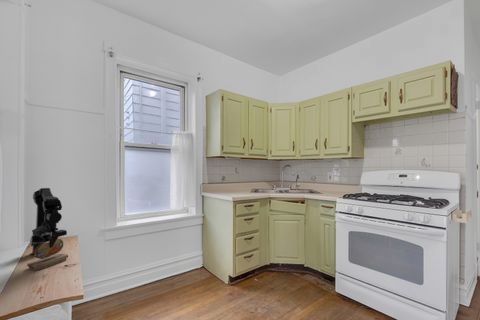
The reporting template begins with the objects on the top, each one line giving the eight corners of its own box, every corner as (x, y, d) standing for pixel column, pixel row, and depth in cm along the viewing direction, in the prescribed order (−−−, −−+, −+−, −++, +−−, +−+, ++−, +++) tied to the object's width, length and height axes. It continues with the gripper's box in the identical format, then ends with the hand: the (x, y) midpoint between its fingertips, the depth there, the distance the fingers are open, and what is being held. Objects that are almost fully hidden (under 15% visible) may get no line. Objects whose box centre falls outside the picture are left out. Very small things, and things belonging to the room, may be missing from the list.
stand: (26, 269, 131) (27, 263, 131) (57, 258, 148) (58, 253, 148) (37, 270, 129) (38, 265, 129) (67, 259, 146) (68, 254, 146)
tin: (36, 261, 132) (37, 246, 131) (32, 260, 132) (33, 245, 132) (63, 250, 146) (64, 237, 146) (59, 249, 147) (60, 236, 146)
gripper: (23, 221, 134) (21, 249, 134) (48, 224, 129) (46, 253, 129) (44, 217, 145) (42, 244, 144) (68, 220, 140) (66, 247, 140)
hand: (49, 247), depth 139 cm, fingers closed on tin, 3 cm apart
